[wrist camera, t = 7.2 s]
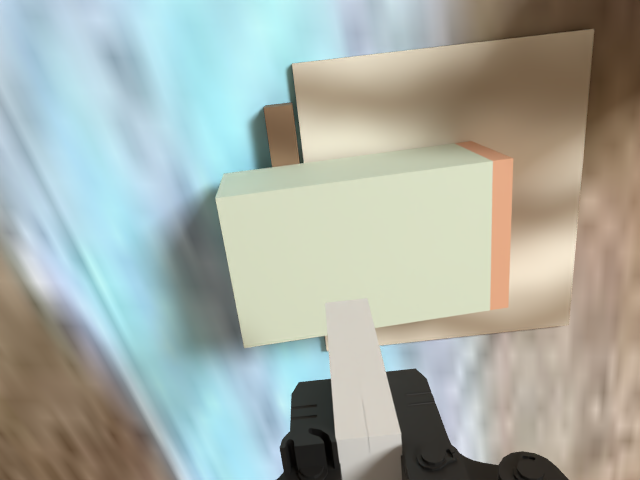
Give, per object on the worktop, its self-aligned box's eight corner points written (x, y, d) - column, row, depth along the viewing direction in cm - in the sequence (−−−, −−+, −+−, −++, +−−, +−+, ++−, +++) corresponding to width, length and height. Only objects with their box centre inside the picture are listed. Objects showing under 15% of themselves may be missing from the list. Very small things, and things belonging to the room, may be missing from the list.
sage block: (215, 198, 22) (513, 158, 23) (223, 173, 27) (471, 141, 28) (244, 348, 25) (508, 307, 26) (247, 302, 30) (471, 269, 31)
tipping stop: (259, 67, 26) (257, 68, 25) (590, 29, 26) (603, 28, 25) (300, 350, 33) (300, 361, 32) (565, 321, 33) (575, 331, 32)
